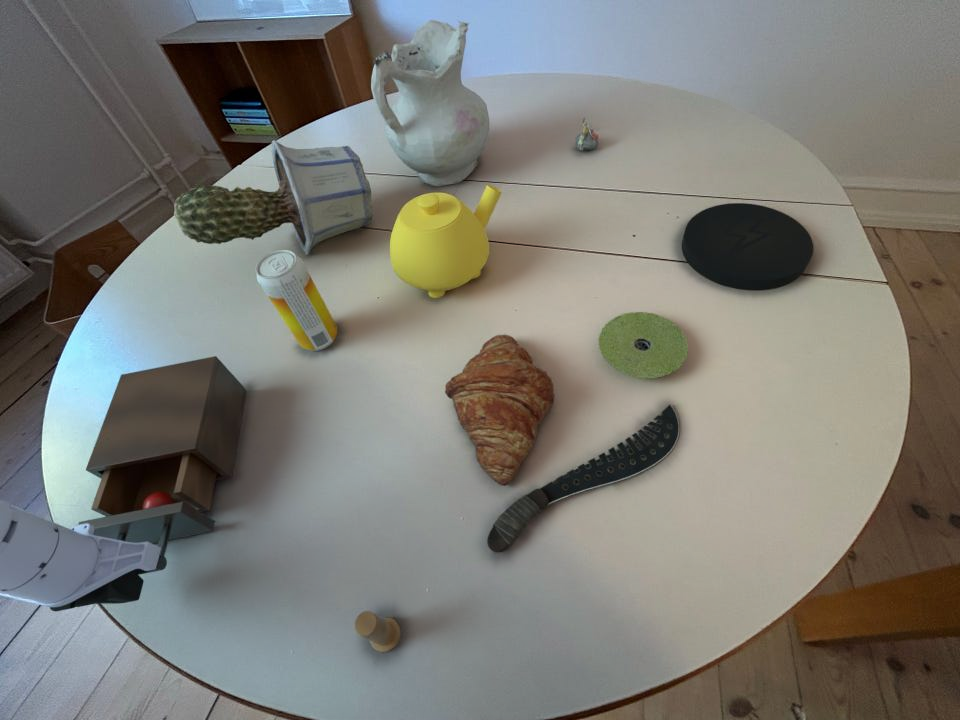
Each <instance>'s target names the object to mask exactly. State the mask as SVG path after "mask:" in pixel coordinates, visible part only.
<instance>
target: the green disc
mask: <svg viewBox="0 0 960 720" xmlns="http://www.w3.org/2000/svg"><path fill="white" fill-rule="evenodd" d="M688 345H689V344H688V341H687V338H686V336H685V334H684V333H683V332H682V330H681V328H680V327H679V326H678V325H676V324H675V323H674V322H672V321H671V320H669V319H668V318H666V317H664V316H662V315H659V314H656V313H653V312H648V311H647V312H645V311H636V312H626V313H623V314H620V315H618V316H616V317H613V318H612V319H611V320H609V321H608V322H607V323H606V324H605V325H604V326H603V327H602V329H601V331H600V333H599V337H598V346H599V351H600V353H601V354H602V357H603V358H604V360H605V361H606V362H607V363H608V364H609V365H610V366H612V368H614V369H615V370H617V371H619V372H621V373H623V374H625V375H627V376H630V377H634V378H639V379H649V380H650V379H656V378H661V377H665V376H667V375H671V374H672V373H674V372H676V371H677V370H679V368H680V367H681V366H682V365H683V364H684V363H685V361H686V358H687V356H688V351H689V347H688Z"/></svg>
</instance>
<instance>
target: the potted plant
mask: <svg viewBox="0 0 960 720" xmlns="http://www.w3.org/2000/svg"><path fill="white" fill-rule="evenodd" d="M271 157H272V163H273V168H274V172H275V175H276V179H277V182H278V186H279V187H278V188H277V190H275V191H266V190H262V189H259V188H257V189H255V188H252V187H251V186H249V187H248V186H247V187H246V188H240V187H239V186H235V187H234V188H233V189H232V190H229V188H227V187H223V186H220V185H219V186H218V185H212V184H208V185H206V186H205V184H203V185H199V186H197V187H193V188H190V189H189V191H188V192H185V193H181V196H178V197H177V198H176V199H175V202H174V206H173V208H174V212H173V216H174V219H175V220H176V222H177V223H178V226H179V228H180V230H181V232H182V233H183V234H184V236H187V237H188V238H189V239H190V240H194V241H195V242H196V243H203V244H207V245H213V244H217V245H221V244H222V243H224V244H225V243H229V242H231V241H233V240H235V239H240V238H241V239H249V240H252V241H253V240H255V239H257V238H262V237H263V235H264V234H267V233H269V232H271V231H272V230H275V229H277V228H280V227H281V226H282V225H283V224H291V228H292V230H293V233H294V234H295V237H296V240H297V242H298V243H299V244H300V245H299V246H300V248H301V249H302V250H303V252H304V254H305V255H309V254H310V252H311V251H312V248H313V247H314V246H315V245H317V244H318V243H320V242H321V241H324V240H327V239H329V238H332V237H335V236H338V235H341V234H343V233H346V232H349V231H353V230H356V229H361V228H363V227H366V226H367V225H368V224H370V222H371V221H372V220H373V214H374V207H373V203H372V202H373V201H372V190H371V189H372V188H371V185H370V181H369V180H368V179H367V176H366V172H365V169H364V166H363V164H362V161H361V158H360V156H359V154H357V153H356V152H355V151H354V150H353V148H351V146H349V145H344V146H328V147H326V146H325V147H315V148H293V147H287V146H285V145H283V144H281V143H280V142H278V141H277V140H275V139H274V140H272V141H271Z"/></svg>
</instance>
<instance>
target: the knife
mask: <svg viewBox="0 0 960 720" xmlns="http://www.w3.org/2000/svg"><path fill="white" fill-rule="evenodd" d="M678 418H679V417H678V415H677V413H676V411H675V409H674V407H673V406H672V405H671V404H668V405H667V407H665V408H664V409H663V410H662V411H661V413H660V414H658V415H656V416H655V417H654V418H653V420H654V421H651V420H650V421H649V422H648V423H647V424H646V425H644V426H643V427H642V429H641V428H640V429H639V430H637V432H634V433H633V434H631V436H628V437H626V438H625V439H624V440H625V442H626V443H627V445H625V444H624V442H623V441H620V442H619V443H617V444H616V446H617V448H618V449H617V450H616V448H615V446H612V447H611V448H609V449H608V450H607V451H608V454H606V453H605V452H604V451H603V452H602V453H600V454H598V458H597V459H596V458H595V457H593V458H591V459H589V460H587V462H588V463H586V464H585V463H582V464H580V465H578V466H577V467H576V468H573V469H571V470H569V471H567V472H566V473H565V474H562V475H560V476H558V477H557V478H555V480H553V481H550V482H548V483H546V484H545V485H543V486H542V487H540V488H536V489H534V490H532V491H530V492H529V493H527V494H525V495H523V496H521V497H519V498H518V499H517V500H515V501H514V502H513V503H512V504H511V505H509V507H507V508H506V509H505V510H504V511H503V512H502V513H501V514H500V515H499V516H498V517H497V519H496V520H495V522H494V523H493V524H492V527H491V529H490V531H489V533H488V536H487V538H486V539H487V540H486V541H487V542H486V544H487V546H488V548H489V549H490V551H492V552H493V553H499V554H500V553H503V552H505V551H506V550H508V549H509V548H510V547H511V546H512V545H513V544H514V542H515V541H516V540H517V538H518V537H519V535H520V534H521V532H522V531H523V530H524V528H525V527H526V526H527V524H528V523H529V522H530V521H531V520H532V519H533V518H535V517H536V516H537V515H539V514H540V513H541V512H542V511H543V510H545V509H546V508H547V507H548V506H549V505H550V504H552V503H555V502H557V501H559V500H562V499H564V498H567V497H571V496H573V495H576V494H579V493H582V492H586V491H589V490H591V489H595V488H599V487H602V486H607V485H610V484H614V483H617V482H621V481H622V480H626V479H629V478H631V477H633V476H636V475H638V474H640V473H642V472H644V471H646V470H648V469H650V468H651V467H653V466H655V465H657V464H658V463H660V461H662V460H663V459H665V458H666V457H667V456H668V455H669V454H670V453H671V452H672V450H673V449H674V448H675V446H676V444H677V442H678V439H679V435H680V423H679V419H678ZM647 425H648V426H647ZM669 426H671V427H669ZM656 429H658V430H656ZM644 430H645V431H644ZM640 435H641V436H640ZM651 435H653V436H654V437H652V436H651ZM665 435H667V436H668V437H666V436H665ZM631 437H633V439H634V440H633V439H632V438H631ZM645 440H646V441H647V442H648V443H646V442H645ZM660 444H662V445H663V446H660ZM637 445H639V446H640V447H641V449H640V448H639V447H638V446H637ZM629 449H630V450H631V452H632V453H630V452H629ZM652 451H654V453H652ZM620 454H621V455H622V456H621V457H620V456H619V455H620ZM642 457H644V458H645V459H643V458H642ZM609 459H612V460H609ZM632 461H633V462H634V464H632ZM620 465H622V466H623V468H622V467H620ZM609 469H612V471H609ZM598 472H599V473H600V475H598V474H597V473H598ZM587 476H588V477H589V479H587V478H586V477H587ZM575 481H578V483H575ZM564 486H566V487H567V488H566V489H565V488H564Z"/></svg>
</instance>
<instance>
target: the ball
mask: <svg viewBox="0 0 960 720" xmlns="http://www.w3.org/2000/svg"><path fill="white" fill-rule="evenodd" d="M173 503H174V502H173V498H172V497H171V496H170V495H169V494H168V493H165V492H156V493H153V494H151V495H149V496H148V497H147V498H146V499H145V501H144V503H143V509H147V508H152V507H157V506H163V505H168V504H173Z"/></svg>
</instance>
